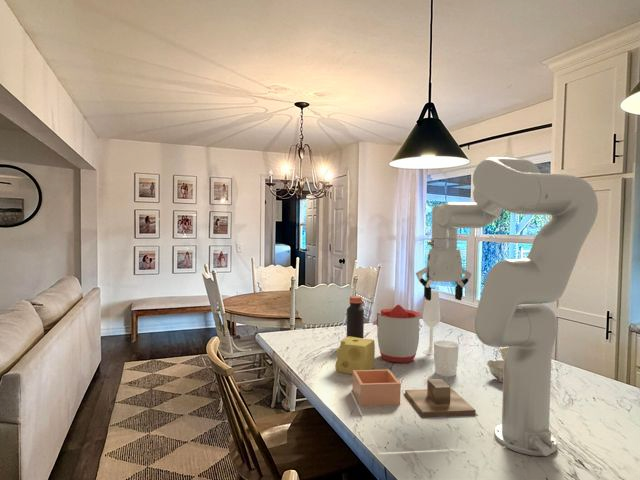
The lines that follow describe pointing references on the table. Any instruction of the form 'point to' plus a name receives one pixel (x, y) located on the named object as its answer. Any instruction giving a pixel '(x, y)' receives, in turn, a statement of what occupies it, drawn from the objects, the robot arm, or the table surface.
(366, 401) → the salmon orange open box
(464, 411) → the lid
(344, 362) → the cheese
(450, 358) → the white cup
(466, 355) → the table surface
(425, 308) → the champagne flute
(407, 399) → the mat
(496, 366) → the chinaware
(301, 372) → the table surface
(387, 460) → the table surface
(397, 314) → the citrus juicer
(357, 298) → the bottle
